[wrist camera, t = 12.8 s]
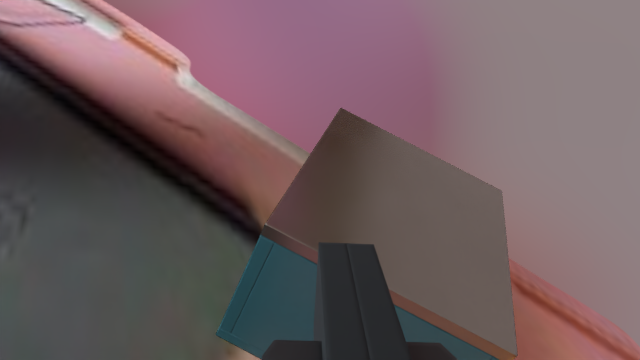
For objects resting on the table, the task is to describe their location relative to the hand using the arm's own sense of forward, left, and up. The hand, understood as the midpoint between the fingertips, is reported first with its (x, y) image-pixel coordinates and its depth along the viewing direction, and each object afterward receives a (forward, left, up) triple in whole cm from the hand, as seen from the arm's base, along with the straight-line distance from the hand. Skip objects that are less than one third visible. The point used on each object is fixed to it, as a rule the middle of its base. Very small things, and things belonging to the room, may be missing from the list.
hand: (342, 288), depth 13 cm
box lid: (+3, +15, -7) cm, 17 cm away
